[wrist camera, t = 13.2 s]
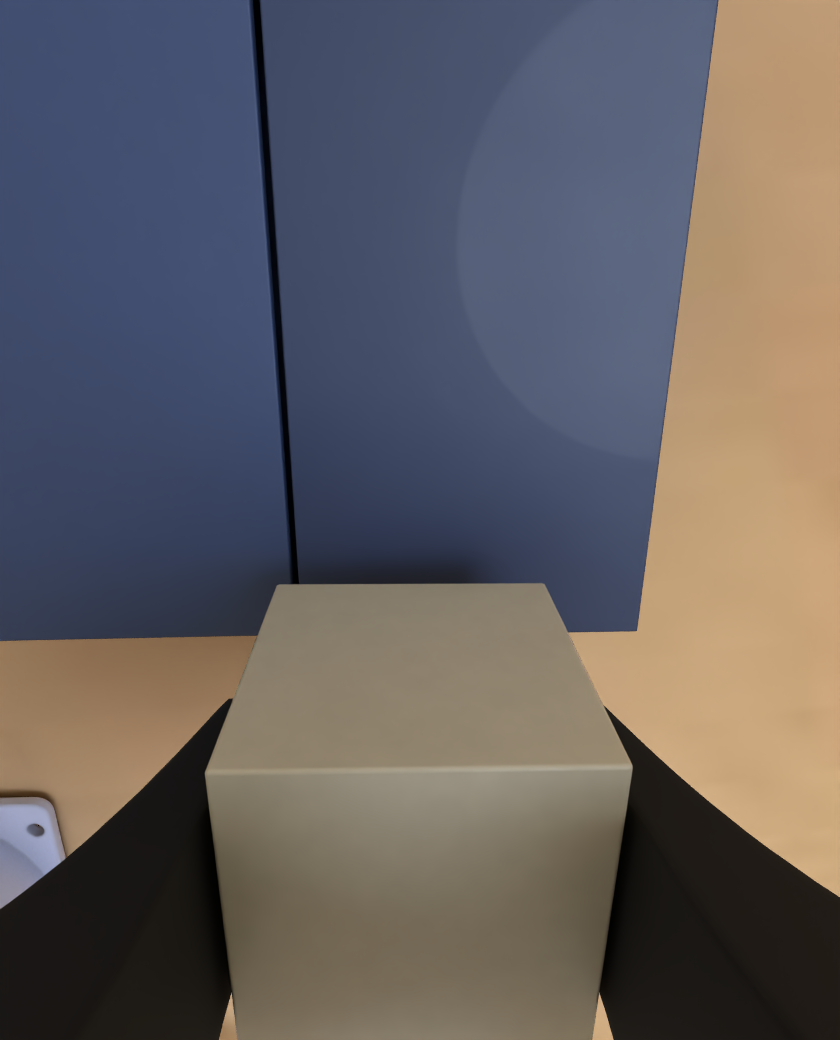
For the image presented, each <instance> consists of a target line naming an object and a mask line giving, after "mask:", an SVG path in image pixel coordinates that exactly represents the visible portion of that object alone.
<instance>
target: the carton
mask: <svg viewBox="0 0 840 1040" xmlns="http://www.w3.org/2000/svg"><path fill="white" fill-rule="evenodd" d="M717 7H718V0H253V10H254V24H255V38H256V53H257V67H258V81H259V95H260V110H261V124H262V138H263V152H264V167H265V181H266V195H267V209H268V224H269V238H270V252H271V267H272V281H273V295H274V309H275V324H276V338H277V352H278V366H279V381H280V395H281V409H282V423H283V438H284V452H285V466H286V480H287V495H288V509H289V523H290V537H291V552H292V566H293V580H294V584H499V583H542V584H545V586H546V588H547V590H548V592H549V594H550V596H551V598H552V601H553V603H554V605H555V607H556V609H557V611H558V613H559V615H560V617H561V619H562V621H563V623H564V625H565V627H566V629H567V631H568V632H617V631H637V627H638V619H639V611H640V603H641V596H642V588H643V580H644V572H645V565H646V557H647V549H648V541H649V534H650V526H651V518H652V510H653V503H654V495H655V487H656V479H657V472H658V464H659V456H660V448H661V441H662V433H663V425H664V417H665V410H666V402H667V394H668V386H669V379H670V371H671V363H672V355H673V348H674V340H675V332H676V324H677V317H678V309H679V301H680V293H681V286H682V278H683V270H684V262H685V255H686V247H687V239H688V231H689V224H690V216H691V208H692V200H693V193H694V185H695V177H696V170H697V162H698V154H699V146H700V139H701V131H702V123H703V115H704V108H705V100H706V92H707V84H708V77H709V69H710V61H711V53H712V46H713V38H714V30H715V22H716V15H717Z"/></svg>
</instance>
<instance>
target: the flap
mask: <svg viewBox="0 0 840 1040" xmlns="http://www.w3.org/2000/svg"><path fill="white" fill-rule="evenodd" d="M280 584H294V580H293V566H292V552H291V537H290V523H289V509H288V495H287V480H286V466H285V452H284V438H283V423H282V409H281V395H280V381H279V366H278V352H277V338H276V324H275V309H274V295H273V281H272V267H271V252H270V238H269V224H268V209H267V195H266V181H265V167H264V152H263V138H262V124H261V110H260V95H259V81H258V67H257V53H256V38H255V24H254V10H253V0H0V641H16V640H65V639H113V638H161V637H209V636H257V635H258V633H259V631H260V628H261V625H262V623H263V620H264V618H265V615H266V612H267V610H268V607H269V605H270V602H271V599H272V597H273V594H274V592H275V589H276V586H277V585H280Z"/></svg>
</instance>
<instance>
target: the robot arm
mask: <svg viewBox="0 0 840 1040" xmlns="http://www.w3.org/2000/svg"><path fill="white" fill-rule="evenodd" d="M232 701H233V699H228V700H227V701H226V702H225V703H224V704H223V705H222V706H221V707H220V708H219V709H218V710H217V711H216V712H215V713H214V714H213V715H212V716H211V717H210V719H209V720H208V721H207V722H206V723H205V724H204V725H203V726H202V727H201V728H200V729H199V731H198V732H197V733H196V734H195V735H194V736H193V737H192V738H191V739H190V740H189V741H188V742H187V743H186V744H185V746H184V747H183V748H182V749H181V750H180V751H179V752H178V753H177V754H176V755H175V756H174V757H173V758H172V759H171V760H170V761H169V762H168V763H167V764H166V765H165V766H164V767H163V768H162V769H161V770H160V771H159V772H158V773H157V774H156V775H155V776H154V777H153V778H152V779H151V781H150V782H149V783H148V784H147V785H146V786H145V787H144V788H143V789H142V790H141V791H140V792H139V793H138V794H136V795H135V796H134V797H133V798H132V799H131V800H130V801H129V802H128V803H127V804H126V805H125V806H124V807H123V808H122V809H120V810H119V811H118V812H117V813H116V814H115V815H114V816H113V817H112V818H111V819H110V820H109V821H107V822H106V823H105V824H104V825H103V826H102V827H101V828H100V829H99V830H98V831H97V832H96V833H94V834H93V835H92V836H91V837H90V838H89V839H88V840H87V841H85V842H84V843H83V844H82V845H81V846H80V847H79V848H77V849H76V850H75V851H74V852H73V853H72V854H70V855H69V856H68V857H67V858H66V857H65V852H64V848H63V844H62V840H61V836H60V831H59V827H58V823H57V819H56V815H55V810H54V808H53V806H52V804H51V803H50V802H49V801H48V800H46V799H44V798H40V797H11V798H0V1040H219V1037H220V1033H221V1029H222V1024H223V1021H224V1017H225V1013H226V1010H227V1006H228V1003H229V999H230V995H231V992H232V991H231V983H230V975H229V966H228V958H227V950H226V942H225V934H224V926H223V917H222V909H221V901H220V893H219V885H218V877H217V869H216V860H215V852H214V844H213V836H212V828H211V820H210V812H209V803H208V795H207V787H206V779H205V771H206V769H207V766H208V763H209V761H210V758H211V756H212V753H213V750H214V748H215V745H216V743H217V740H218V737H219V735H220V732H221V730H222V727H223V724H224V722H225V719H226V717H227V714H228V711H229V709H230V706H231V704H232ZM603 706H604V705H603ZM604 708H605V710H606V712H607V714H608V716H609V718H610V720H611V722H612V724H613V726H614V728H615V730H616V732H617V735H618V737H619V739H620V741H621V743H622V745H623V747H624V749H625V751H626V753H627V755H628V757H629V759H630V761H631V763H632V766H633V769H632V776H631V783H630V789H629V796H628V803H627V809H626V816H625V823H624V829H623V836H622V843H621V850H620V856H619V863H618V870H617V876H616V883H615V890H614V896H613V903H612V910H611V916H610V923H609V930H608V936H607V943H606V950H605V957H604V963H603V970H602V977H601V983H600V990H599V992H600V996H601V999H602V1002H603V1005H604V1008H605V1011H606V1014H607V1018H608V1021H609V1025H610V1028H611V1032H612V1035H613V1039H614V1040H840V897H838V896H837V895H835V894H834V893H832V892H831V891H829V890H828V889H826V888H825V887H823V886H822V885H820V884H819V883H817V882H816V881H814V880H813V879H811V878H810V877H808V876H807V875H806V874H804V873H803V872H801V871H800V870H798V869H797V868H796V867H794V866H793V865H791V864H790V863H789V862H787V861H786V860H784V859H783V858H781V857H780V856H779V855H777V854H776V853H774V852H773V851H771V850H770V849H769V848H767V847H766V846H765V845H763V844H762V843H761V842H759V841H758V840H757V839H755V838H754V837H753V836H751V835H750V834H749V833H747V832H746V831H745V830H743V829H742V828H741V827H740V826H738V825H737V824H736V823H735V822H733V821H732V820H731V819H730V818H729V817H727V816H726V815H725V814H724V813H722V812H721V811H720V810H719V809H717V808H716V807H715V806H714V805H712V804H711V803H710V802H709V801H707V800H706V799H705V798H704V797H703V796H702V795H700V794H699V793H698V792H697V791H696V790H695V789H693V788H692V787H691V786H690V785H689V784H688V783H686V782H685V781H684V780H683V779H682V778H681V777H680V776H678V775H677V774H676V773H675V772H674V771H673V770H672V769H671V768H669V767H668V766H667V765H666V764H665V763H664V762H663V761H662V760H661V759H660V758H658V757H657V756H656V755H655V754H654V753H653V752H652V751H651V750H650V749H649V748H648V747H647V746H646V745H644V744H643V743H642V742H641V741H640V740H639V739H638V738H637V737H636V736H635V735H634V734H633V733H632V732H631V731H630V730H629V729H628V728H627V727H626V726H625V725H624V724H622V723H621V722H620V721H619V720H618V719H617V718H616V717H615V716H614V715H613V714H612V713H611V712H610V711H609V710H608V709H607V708H606V707H605V706H604ZM36 824H39V825H40V826H42V827H40V826H38V825H36Z"/></svg>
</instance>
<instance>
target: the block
mask: <svg viewBox="0 0 840 1040" xmlns="http://www.w3.org/2000/svg"><path fill="white" fill-rule="evenodd" d="M632 769H633V766H632V763H631V761H630V759H629V757H628V755H627V753H626V751H625V749H624V747H623V745H622V743H621V741H620V739H619V737H618V735H617V732H616V730H615V728H614V726H613V724H612V722H611V720H610V718H609V716H608V714H607V712H606V710H605V708H604V706H603V704H602V702H601V699H600V697H599V695H598V693H597V691H596V689H595V687H594V685H593V683H592V681H591V679H590V677H589V675H588V673H587V671H586V669H585V666H584V664H583V662H582V660H581V658H580V656H579V654H578V652H577V650H576V648H575V646H574V644H573V642H572V640H571V638H570V636H569V634H568V631H567V629H566V627H565V625H564V623H563V621H562V619H561V617H560V615H559V613H558V611H557V609H556V607H555V605H554V603H553V601H552V598H551V596H550V594H549V592H548V590H547V588H546V586H545V584H542V583H499V584H280V585H277V586H276V589H275V592H274V594H273V597H272V599H271V602H270V605H269V607H268V610H267V612H266V615H265V618H264V620H263V623H262V625H261V628H260V631H259V633H258V636H257V638H256V641H255V644H254V646H253V649H252V651H251V654H250V657H249V659H248V662H247V664H246V667H245V670H244V672H243V675H242V677H241V680H240V683H239V685H238V688H237V690H236V693H235V696H234V698H233V701H232V704H231V706H230V709H229V711H228V714H227V717H226V719H225V722H224V724H223V727H222V730H221V732H220V735H219V737H218V740H217V743H216V745H215V748H214V750H213V753H212V756H211V758H210V761H209V763H208V766H207V769H206V771H205V779H206V787H207V795H208V803H209V812H210V820H211V828H212V836H213V844H214V852H215V860H216V869H217V877H218V885H219V893H220V901H221V909H222V917H223V926H224V934H225V942H226V950H227V958H228V966H229V975H230V983H231V991H232V999H233V1007H234V1015H235V1023H236V1032H237V1040H592V1037H593V1030H594V1023H595V1017H596V1010H597V1003H598V997H599V990H600V983H601V977H602V970H603V963H604V957H605V950H606V943H607V936H608V930H609V923H610V916H611V910H612V903H613V896H614V890H615V883H616V876H617V870H618V863H619V856H620V850H621V843H622V836H623V829H624V823H625V816H626V809H627V803H628V796H629V789H630V783H631V776H632Z"/></svg>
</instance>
